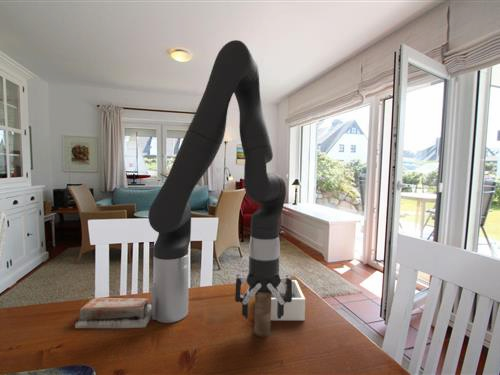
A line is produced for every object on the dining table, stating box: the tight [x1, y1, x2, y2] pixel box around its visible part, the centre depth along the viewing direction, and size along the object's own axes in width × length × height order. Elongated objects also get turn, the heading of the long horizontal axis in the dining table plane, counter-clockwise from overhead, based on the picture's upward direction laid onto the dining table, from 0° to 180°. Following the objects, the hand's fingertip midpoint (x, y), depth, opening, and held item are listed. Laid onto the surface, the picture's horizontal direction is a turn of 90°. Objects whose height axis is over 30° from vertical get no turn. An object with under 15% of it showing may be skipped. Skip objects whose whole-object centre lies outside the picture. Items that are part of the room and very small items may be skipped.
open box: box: [271, 279, 306, 321], centre depth 77 cm, size 12×12×6 cm
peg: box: [253, 292, 272, 338], centre depth 66 cm, size 4×4×11 cm
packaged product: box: [74, 297, 152, 329], centre depth 71 cm, size 18×5×10 cm
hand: (262, 316), depth 66 cm, fingers open, 8 cm apart
